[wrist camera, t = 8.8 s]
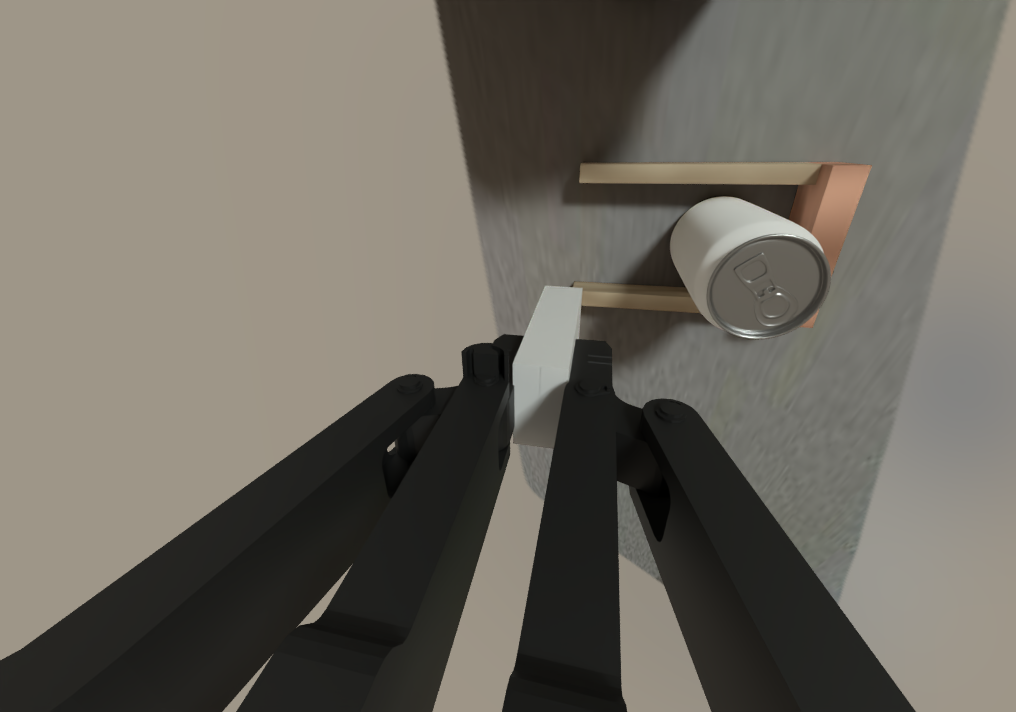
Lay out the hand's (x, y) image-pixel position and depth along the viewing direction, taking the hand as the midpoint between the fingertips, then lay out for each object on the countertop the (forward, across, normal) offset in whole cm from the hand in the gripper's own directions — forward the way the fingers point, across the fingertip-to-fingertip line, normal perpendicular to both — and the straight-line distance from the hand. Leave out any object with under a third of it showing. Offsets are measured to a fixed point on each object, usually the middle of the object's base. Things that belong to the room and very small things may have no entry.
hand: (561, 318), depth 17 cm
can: (+19, +10, 0) cm, 21 cm away
